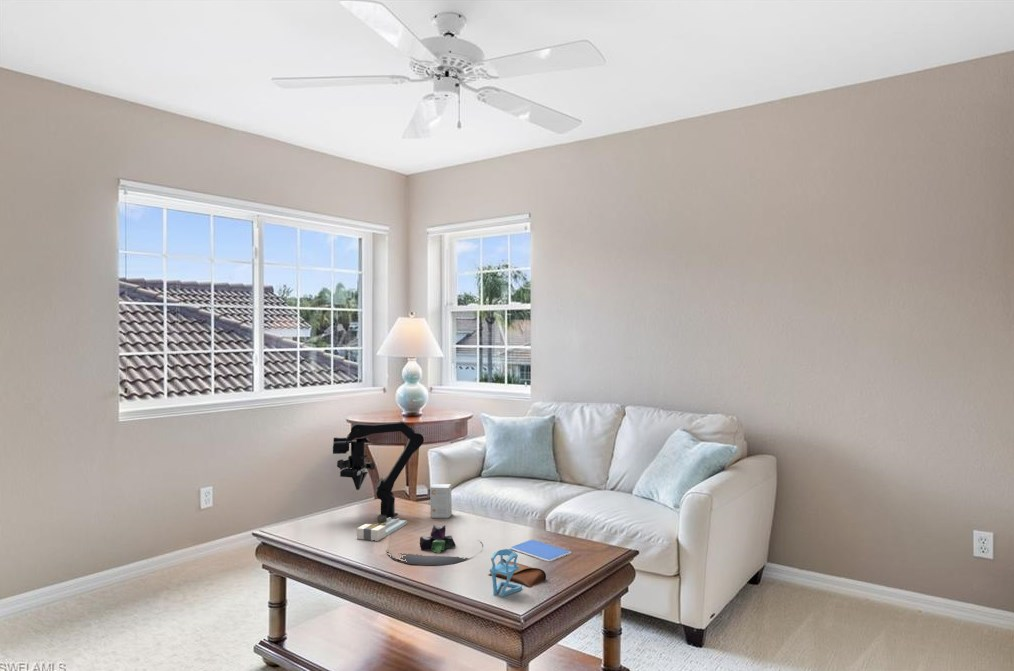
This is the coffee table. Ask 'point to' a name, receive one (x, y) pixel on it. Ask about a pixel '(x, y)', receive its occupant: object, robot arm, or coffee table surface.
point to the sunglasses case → (524, 575)
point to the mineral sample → (433, 549)
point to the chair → (504, 572)
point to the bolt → (380, 521)
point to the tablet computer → (540, 550)
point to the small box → (440, 500)
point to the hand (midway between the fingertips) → (357, 489)
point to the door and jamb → (379, 529)
